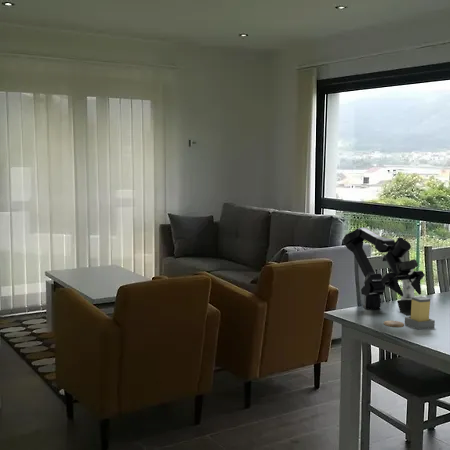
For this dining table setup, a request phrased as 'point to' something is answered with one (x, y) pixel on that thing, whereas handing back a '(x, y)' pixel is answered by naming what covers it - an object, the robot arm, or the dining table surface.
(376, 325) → the dining table surface
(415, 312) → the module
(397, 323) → the pad
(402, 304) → the black wedge stand
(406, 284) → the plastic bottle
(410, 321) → the case
